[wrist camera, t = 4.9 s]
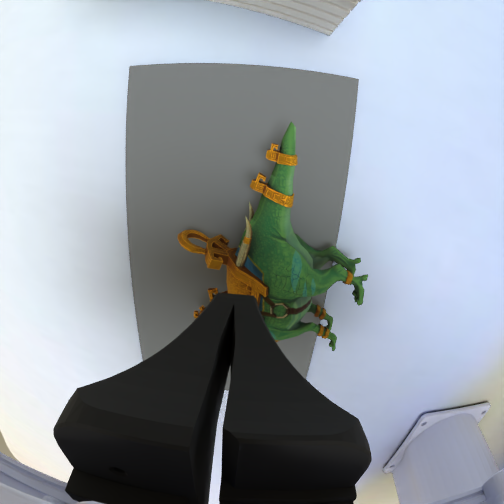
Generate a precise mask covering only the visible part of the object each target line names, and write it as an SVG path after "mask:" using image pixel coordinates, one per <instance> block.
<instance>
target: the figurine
mask: <svg viewBox="0 0 504 504" xmlns="http://www.w3.org/2000/svg"><path fill="white" fill-rule="evenodd" d="M274 147H275V148H276V149H278V144H273V143H272V145H271V149H269V150H267V153H266V158H267V159H268V160H271V161H275V162H276V164H275V167H274V169H273V172H272V175H271V177H270V179H269V181H268V183H264V182H262V181H260V178H261V179H263V181H265V179H266V176H265V175H263V174H261V173H260V172H259V173H258V175H257V178H256V179H253V180H252V182H251V184H250V187H251V188H252V189H253V190H255V191H258V192H260V193H262V195H261V198H260V202H259V205H258V208H257V210H256V212H255V214H254V211H253V209H252V207H251V204H250V202H249V211H250V213H249V221H248V219H247V217H246V225H247V226H246V228H245V231H244V233H243V235H242V238H241V241H240V243H239V246H238V247H237V248H229V247H228V246H227V245H228V243H229V240H228V239H226V238H225V237H224V236H222V235H221V234H220V235H218V236H215V237H213V238H211V239H210V238H208V237H207V236H206V235H204V234H203V233H202V232H199V231H196V230H191V229H189V230H184V231H182V232H181V233H179V234H178V241H179V243H180V245H181V246H182V247H183V248H184V249H186V250H187V251H190V252H192V253H197V254H204V255H205V261H206V264H207V267H208V268H211V269H217V270H220V268H221V265H222V264H224V265H226V266H227V280H226V283H227V291H225V292H222V293H229V294H240V295H252V296H255V298H256V299H257V303H258V307H259V309H260V312H261V314H262V317H263V319H264V321H265V323H266V325H267V327H268V329H269V331H270V333H271V335H272V336H273V338H274V340H275V341H276V342H278V341H280V340H285V339H289V338H292V337H296V336H299V335H301V334H303V333H304V332H308V331H313V332H316V333H317V336H322V338H324V339H326V338H328V339H330V340H331V341H330V343H329V346H330V347H332V351H334V350H335V343H336V339H337V337H336V335H335V334H333V333H331V332H330V330H331V327H332V323H333V318H332V317H331V316H329V315H328V314H327V313H326V310H325V309H324V308H321V307H320V306H319V305H318V304H317V305H314V304H313V303H312V297H313V296H316V295H319V294H322V293H325V292H326V291H327V290H328V289H329V288H330V287H331V286H332V285H333V284H334V283H335V282H336V281H343V283H345V284H348V285H349V284H350V285H351V284H353V285H354V288H355V290H354V291H353V293H352V294H353V295H354V296H355V298H354V300H355V302H357V304H358V306H359V305H362V303H363V296H364V289H363V287H362V281H366V280H367V277H368V274H367V275H362V276H359V277H354V273H355V270H356V268H355V264H357V263H360V262H361V258H356V259H355V260H352V259H348V258H347V257H345V256H344V255H343V254H342V253H341V252H340V251H339V250H338V249H336V248H335V247H334V246H331V247H329V248H327V249H325V250H323V251H321V250H315V249H313V248H312V247H310V246H309V245H307V244H306V243H305V242H304V241H303V240H302V239H301V238H300V237H299V236H298V235H297V234H295V233H294V231H293V228H292V225H291V221H290V210H291V208H292V206H293V200H294V193H293V176H294V171H295V166H296V165H298V162H297V155H296V154H295V147H296V127H295V125H294V124H293V123H292V122H290V124H289V126H288V128H287V130H286V132H285V134H284V136H283V138H282V142H281V146H280V150H279V151H277V150H273V149H274ZM245 216H246V215H245ZM188 238H196V239H200V240H202V241H204V242H206V243H207V245H206V249H205V248H202V247H200V246H197V245H195V244H193V243H191V242H190V241H189V239H188ZM328 261H335V262H336V263H338V264H337V265H334V266H332V267H330V268H328V269H324V270H319V269H320V268H322V267H323V266H324V265H325V263H327V262H328ZM343 267H345V268H346V269H347V271H346V270H345V269H344V268H343ZM208 293H209V297H210V302H211V300H212V299H213V297H214V296H215V295H216V294H217V293H218V289H217V288H208ZM213 293H215V295H213ZM205 308H206V307H204V306H203V305H202V306H201V307H199V309H200V310H201V311H200V312H199V313H198V311H194V318H197V317H198V316H199V315H200V314H201V313H202V311H203V310H204V309H205ZM307 312H312V313H313V314H314V316H315V317H319V319H321V320H322V319H325V320H327V323H328V325H327V326H326V327H323V326H322V325H321V324H318V325H317V324H315V323H313V322H309V323H304V322H301V319H302V318H303V317H304V316H305V314H306V313H307Z"/></svg>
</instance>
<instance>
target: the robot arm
mask: <svg viewBox="0 0 504 504" xmlns="http://www.w3.org/2000/svg"><path fill="white" fill-rule="evenodd" d="M230 364H231V380H230V387H229V393H228V400H227V406H226V412H225V418H224V424H223V439H222V477H221V486H220V496H219V501H220V504H353V501H354V500H355V499H356V496H357V495H356V489H355V484H356V483H357V481H358V480H359V479H360V477H361V476H362V475H363V474H364V472H365V471H366V470H367V468H368V467H369V465H370V463H371V452H370V447H369V444H368V440H367V438H366V436H365V433H364V431H363V428H362V426H361V424H360V422H359V419H358V418H356V417H354V416H353V415H351V414H350V413H348V412H347V411H345V410H343V409H342V408H340V407H339V406H337V405H336V404H334V403H333V402H331V401H330V400H329V399H328V398H326V397H325V396H324V395H322V394H321V393H320V392H319V391H318V390H316V389H315V388H314V387H313V386H312V385H311V384H310V383H309V382H308V381H307V380H306V379H305V378H304V377H303V376H302V375H301V374H300V373H299V372H298V371H297V370H296V368H295V367H294V366H293V365H292V364H291V362H290V361H289V360H288V359H287V357H286V356H285V355H284V353H283V352H282V350H281V349H280V348H279V346H278V344H277V343H276V341H275V340H274V338H273V336H272V335H271V333H270V331H269V329H268V327H267V325H266V323H265V321H264V319H263V317H262V314H261V312H260V309H259V307H258V303H257V299H256V298H255V296H252V295H240V294H229V293H217V294H216V295H215V296H214V297H213V299H212V300H211V302H210V303H209V304H208V305H207V307H206V308H205V309H204V310H203V311H202V313H201V314H200V315H199V316H198V317H197V318H196V319H195V320H194V321H193V322H192V323H191V324H190V325H189V326H188V327H187V328H186V329H185V330H184V331H183V332H182V333H181V334H180V335H179V336H178V337H176V338H175V339H174V340H173V341H172V342H170V343H169V344H168V345H167V346H165V347H164V348H163V349H161V350H160V351H158V352H157V353H156V354H154V355H152V356H151V357H149V358H148V359H146V360H144V361H143V362H141V363H139V364H138V365H136V366H134V367H132V368H130V369H128V370H126V371H124V372H121V373H119V374H117V375H114V376H112V377H110V378H107V379H104V380H101V381H99V382H96V383H93V384H90V385H87V386H83V387H80V388H77V390H76V391H75V393H74V394H73V395H72V397H71V398H70V399H69V401H68V403H67V404H66V406H65V408H64V410H63V412H62V414H61V415H60V417H59V419H58V421H57V423H56V425H55V427H54V437H55V439H56V441H57V443H58V445H59V447H60V449H61V450H62V452H63V453H64V455H65V456H66V457H67V459H68V460H69V462H70V463H71V465H72V466H73V467H74V469H73V471H72V473H71V476H70V478H69V481H68V483H65V482H63V481H60V480H58V479H55V478H53V477H51V476H48V475H46V474H44V473H41V472H39V471H37V470H35V469H33V468H30V467H28V466H26V465H24V464H22V463H20V462H18V461H16V460H14V459H12V458H10V457H8V456H7V455H5V454H3V453H1V452H0V504H208V501H209V491H210V481H211V472H212V462H213V454H214V445H215V436H216V428H217V421H218V416H219V411H220V407H221V403H222V398H223V394H224V390H225V386H226V381H227V377H228V373H229V368H230ZM490 406H491V405H490V403H489V402H487V403H482V404H478V405H473V406H468V407H463V408H457V409H452V410H446V411H439V412H433V413H427V414H424V415H423V416H421V418H420V419H419V421H418V422H417V424H416V425H415V427H414V428H413V430H412V431H411V432H410V434H409V435H408V437H407V438H406V440H405V441H404V442H403V444H402V445H401V447H400V448H399V449H398V451H397V452H396V453H395V455H394V456H393V457H392V458H391V460H390V461H389V462H388V464H387V465H386V466H385V467H384V469H383V471H384V473H390V472H392V474H393V478H394V482H395V486H396V490H397V494H398V498H399V502H400V504H504V469H502V470H500V471H499V468H498V466H497V464H496V461H495V459H494V457H493V455H492V453H491V450H490V448H489V446H488V444H487V442H486V440H485V438H484V436H483V434H482V432H481V430H480V428H479V426H478V423H479V422H480V420H481V419H482V418H483V416H484V415H485V414H486V412H487V411H488V410H489V408H490Z"/></svg>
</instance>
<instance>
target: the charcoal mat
mask: <svg viewBox="0 0 504 504" xmlns="http://www.w3.org/2000/svg"><path fill="white" fill-rule="evenodd" d="M358 80H359V79H355V78H350V77H345V76H339V75H334V74H328V73H321V72H314V71H307V70H300V69H291V68H282V67H272V66H260V65H245V64H222V63H176V64H153V65H138V66H130V68H129V80H128V95H127V116H126V204H127V225H128V241H129V254H130V266H131V277H132V286H133V295H134V304H135V311H136V319H137V326H138V333H139V340H140V346H141V352H142V358H143V361H144V360H146V359H148V358H149V357H151V356H152V355H154V354H156V353H157V352H158V351H160V350H161V349H163V348H164V347H165V346H167V345H168V344H169V343H170V342H172V341H173V340H174V339H175V338H176V337H178V336H179V335H180V334H181V333H182V332H183V331H184V330H185V329H186V328H187V327H188V326H189V325H190V324H191V323H192V322H193V321H194V320H195V319H196V318H194V311H198V313H199V312H200V311H201V310H200V309H199V307H201V306H202V305H203V306H204V307H207V305H208V304H209V303H210V297H209V293H208V288H217V289H218V293H222V292H225V291H227V283H226V280H227V266H226V265H224V264H222V265H221V268H220V270H217V269H211V268H208V267H207V264H206V261H205V255H204V254H197V253H192V252H190V251H187V250H186V249H184V248H183V247H182V246H181V245H180V243H179V241H178V234H179V233H181V232H182V231H184V230H189V229H191V230H196V231H199V232H202V233H203V234H204V235H206V236H207V237H208V238H210V239H211V238H213V237H215V236H218V235H220V234H221V235H222V236H224V237H225V238H226V239H228V240H229V243H228V245H227V246H228V247H229V248H237V247H238V246H239V243H240V241H241V238H242V235H243V233H244V231H245V228H246V226H247V225H246V217H247V219H248V221H249V213H250V211H249V202H250V204H251V207H252V209H253V211H254V214H255V212H256V210H257V208H258V205H259V202H260V198H261V195H262V193H260V192H258V191H255V190H253V189H252V188H251V187H250V184H251V182H252V180H253V179H256V178H257V175H258V173H259V172H260V173H261V174H263V175H265V176H266V179H265V181H263V179H261V178H260V181H262V182H264V183H268V181H269V179H270V177H271V175H272V172H273V169H274V167H275V164H276V162H275V161H271V160H268V159H267V158H266V153H267V150H269V149H271V145H272V143H273V144H278V149H276V148H275V147H274V149H273V150H277V151H279V150H280V146H281V142H282V138H283V136H284V134H285V132H286V130H287V128H288V126H289V124H290V122H292V123H293V124H294V125H295V127H296V147H295V154H296V155H297V162H298V165H296V166H295V171H294V176H293V193H294V200H293V206H292V208H291V210H290V221H291V225H292V228H293V231H294V233H295V234H297V235H298V236H299V237H300V238H301V239H302V240H303V241H304V242H305V243H306V244H307V245H309V246H310V247H312V248H313V249H315V250H321V251H323V250H325V249H327V248H329V247H331V246H334V247H335V248H336V243H337V237H338V232H339V226H340V220H341V215H342V209H343V202H344V196H345V190H346V183H347V176H348V169H349V162H350V154H351V147H352V139H353V130H354V121H355V112H356V102H357V92H358ZM245 215H246V216H245ZM188 239H189V241H190V242H191V243H193V244H195V245H197V246H200V247H202V248H205V249H206V245H207V243H206V242H204V241H202V240H200V239H196V238H188ZM332 264H333V261H328V262H327V263H325V265H324V266H323V267H322V268H320V269H319V270H324V269H328V268H330V267H332ZM326 293H327V291H326V292H325V293H322V294H319V295H316V296H313V297H312V303H313V304H314V305H317V304H318V305H319V306H320V307H321V308H323V307H324V302H325V298H326ZM213 295H215V293H213ZM320 320H321V319H319V317H315V316H314V314H313V313H312V312H307V313H306V314H305V316H304V317H303V318H302V319H301V322H304V323H309V322H313V323H315V324H317V325H318V324H320ZM316 337H317V333H316V332H313V331H308V332H304V333H303V334H301V335H299V336H296V337H292V338H289V339H285V340H280V341H278V342H276V343H277V344H278V346H279V348H280V349H281V350H282V352H283V353H284V355H285V356H286V357H287V359H288V360H289V361H290V362H291V364H292V365H293V366H294V367H295V368H296V370H297V371H298V372H299V373H300V374H301V375H302V376H303V377H304V378H305V379H306V376H307V372H308V369H309V365H310V361H311V357H312V353H313V349H314V345H315V341H316ZM230 380H231V364H230V368H229V373H228V377H227V381H226V386H225V390H229V387H230Z"/></svg>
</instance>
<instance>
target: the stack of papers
mask: <svg viewBox="0 0 504 504" xmlns="http://www.w3.org/2000/svg"><path fill="white" fill-rule="evenodd" d="M208 1H213V2H218V3H223V4H227V5H232V6H236V7H240V8H244V9H248V10H252V11H256V12H260V13H263V14H267V15H270V16H274V17H277V18H280V19H284V20H287V21H290V22H293V23H296V24H299V25H302V26H305V27H308V28H310V29H313V30H316V31H318V32H321V33H324V34H326V35H329V36H330V35H331V34H332V32H333V31H334V30H335V29H336V28H337V27H338V25H339V24H340V23H341V22H342V21H343V19H344V18H345V17H346V16H347V15H348V14H349V13H350V10H351V11H352V10H353V8H354V7H355V6H356V5H357V3H358V2H360V1H361V0H208Z"/></svg>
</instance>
